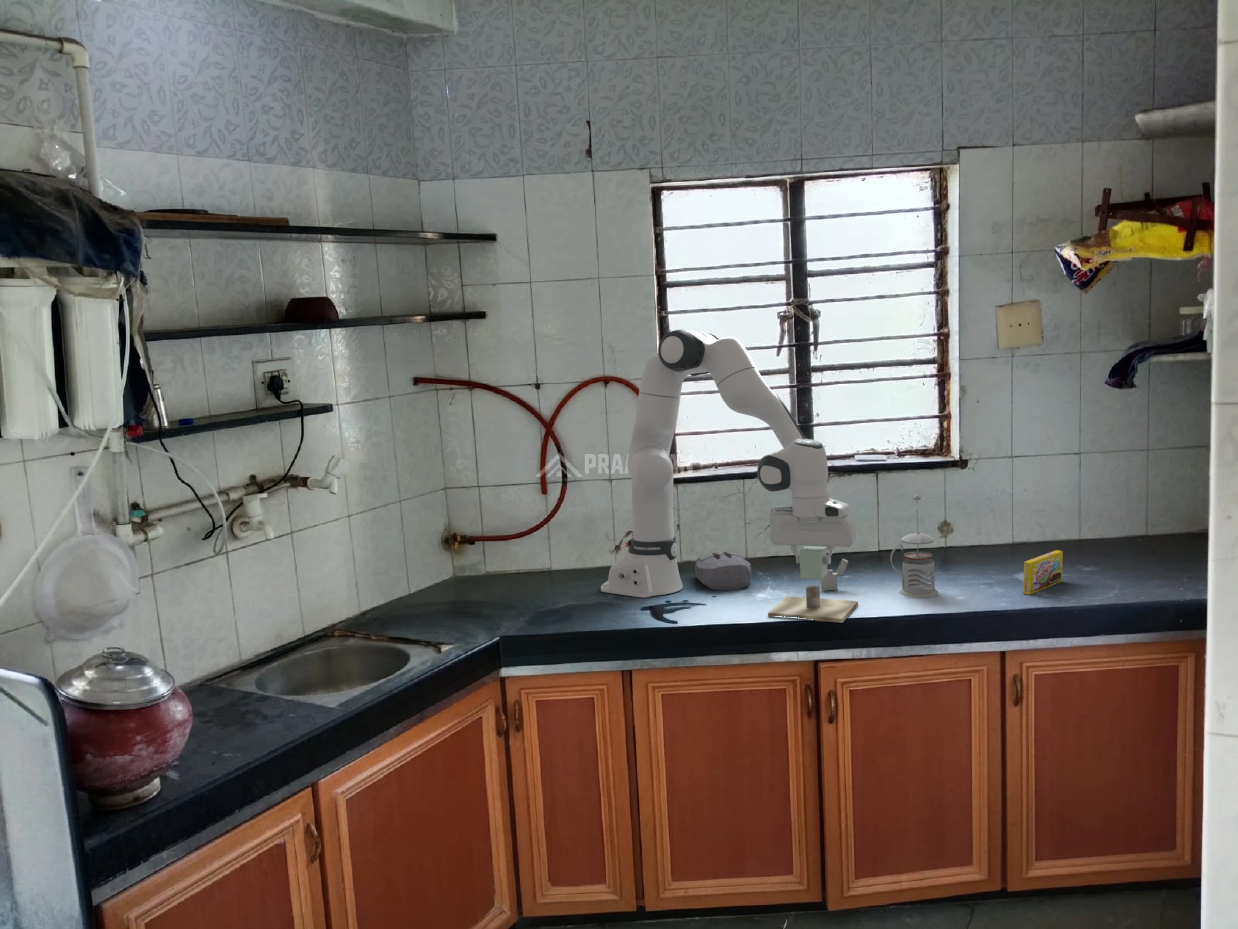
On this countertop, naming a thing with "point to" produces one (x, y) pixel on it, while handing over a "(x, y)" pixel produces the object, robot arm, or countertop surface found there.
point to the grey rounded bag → (723, 571)
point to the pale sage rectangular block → (813, 562)
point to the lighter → (833, 577)
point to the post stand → (814, 607)
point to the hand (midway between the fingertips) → (813, 563)
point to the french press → (917, 566)
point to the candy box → (1042, 572)
